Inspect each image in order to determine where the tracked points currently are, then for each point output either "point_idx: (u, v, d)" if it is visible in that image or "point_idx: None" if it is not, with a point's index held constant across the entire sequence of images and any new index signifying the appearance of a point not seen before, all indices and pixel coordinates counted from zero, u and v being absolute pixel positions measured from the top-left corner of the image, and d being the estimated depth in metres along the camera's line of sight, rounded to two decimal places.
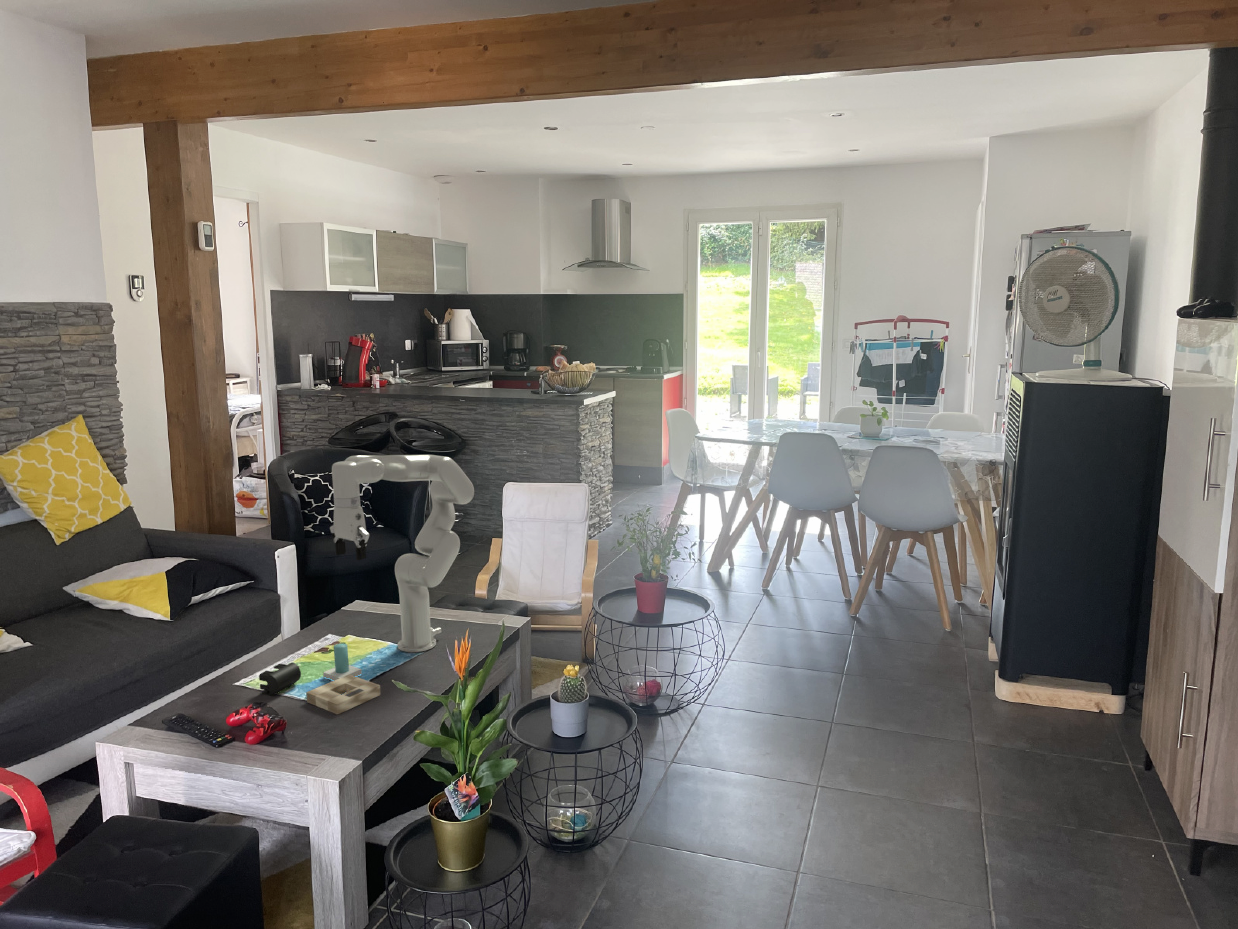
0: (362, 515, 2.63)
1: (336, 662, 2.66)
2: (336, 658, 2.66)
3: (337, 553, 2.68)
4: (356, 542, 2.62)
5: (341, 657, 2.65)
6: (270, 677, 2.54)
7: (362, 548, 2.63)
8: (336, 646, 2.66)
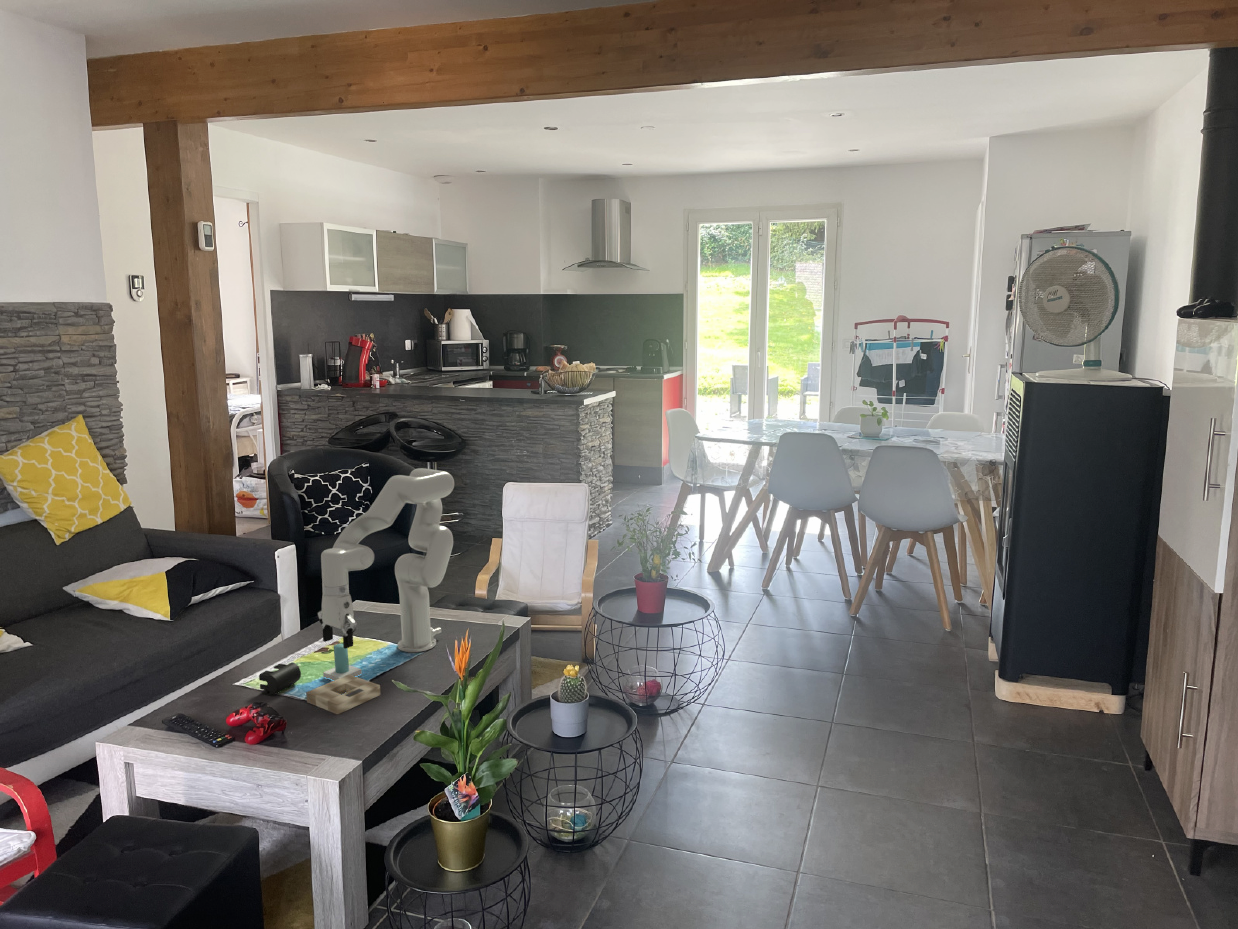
0: (350, 603, 2.63)
1: (336, 662, 2.66)
2: (336, 658, 2.66)
3: (324, 639, 2.67)
4: (343, 630, 2.61)
5: (341, 657, 2.65)
6: (270, 677, 2.54)
7: (349, 636, 2.62)
8: (336, 646, 2.66)
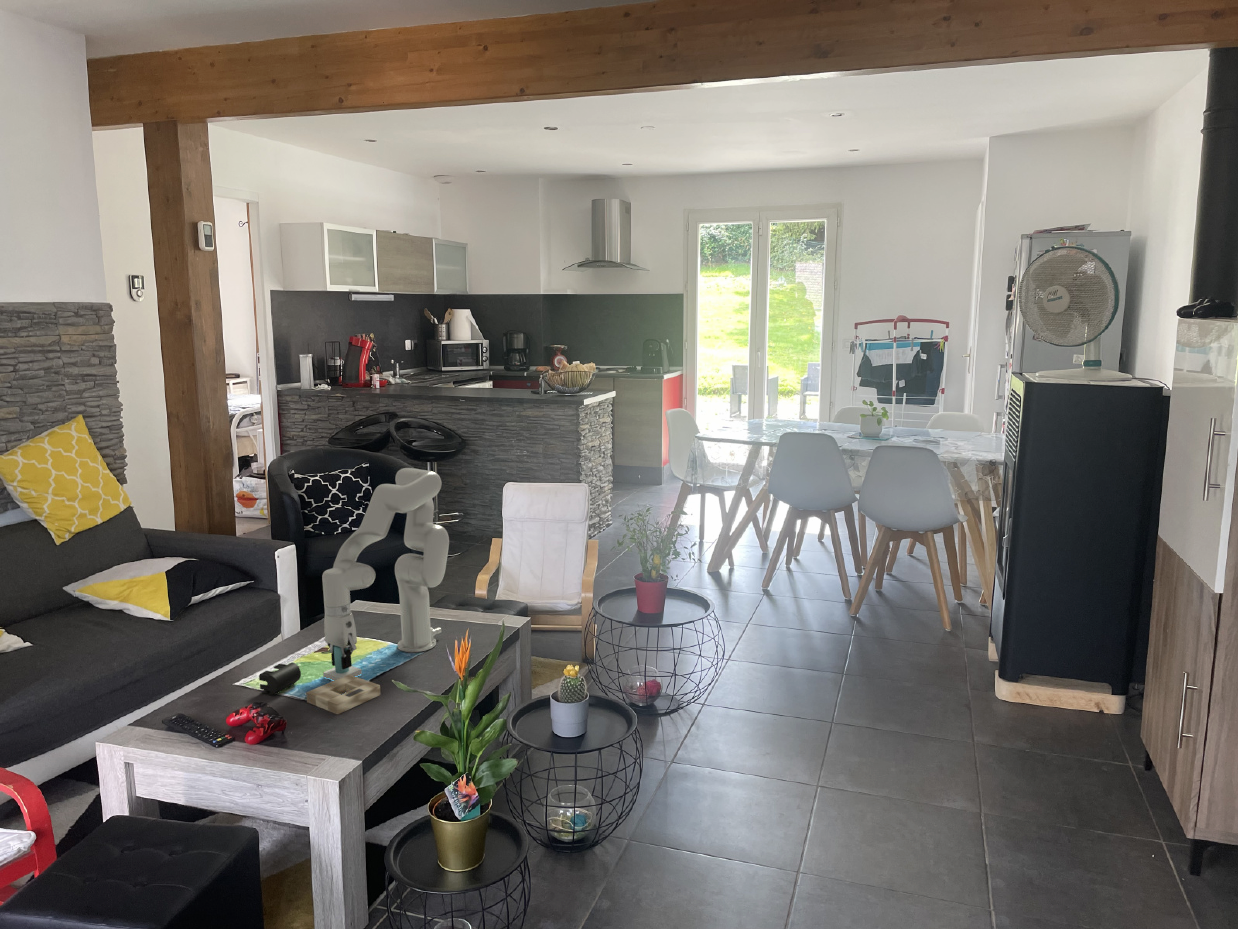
0: (352, 622, 2.64)
1: (336, 662, 2.66)
2: (336, 658, 2.66)
3: (333, 663, 2.68)
4: (343, 651, 2.64)
5: (341, 656, 2.65)
6: (270, 677, 2.54)
7: (347, 657, 2.65)
8: (336, 646, 2.66)
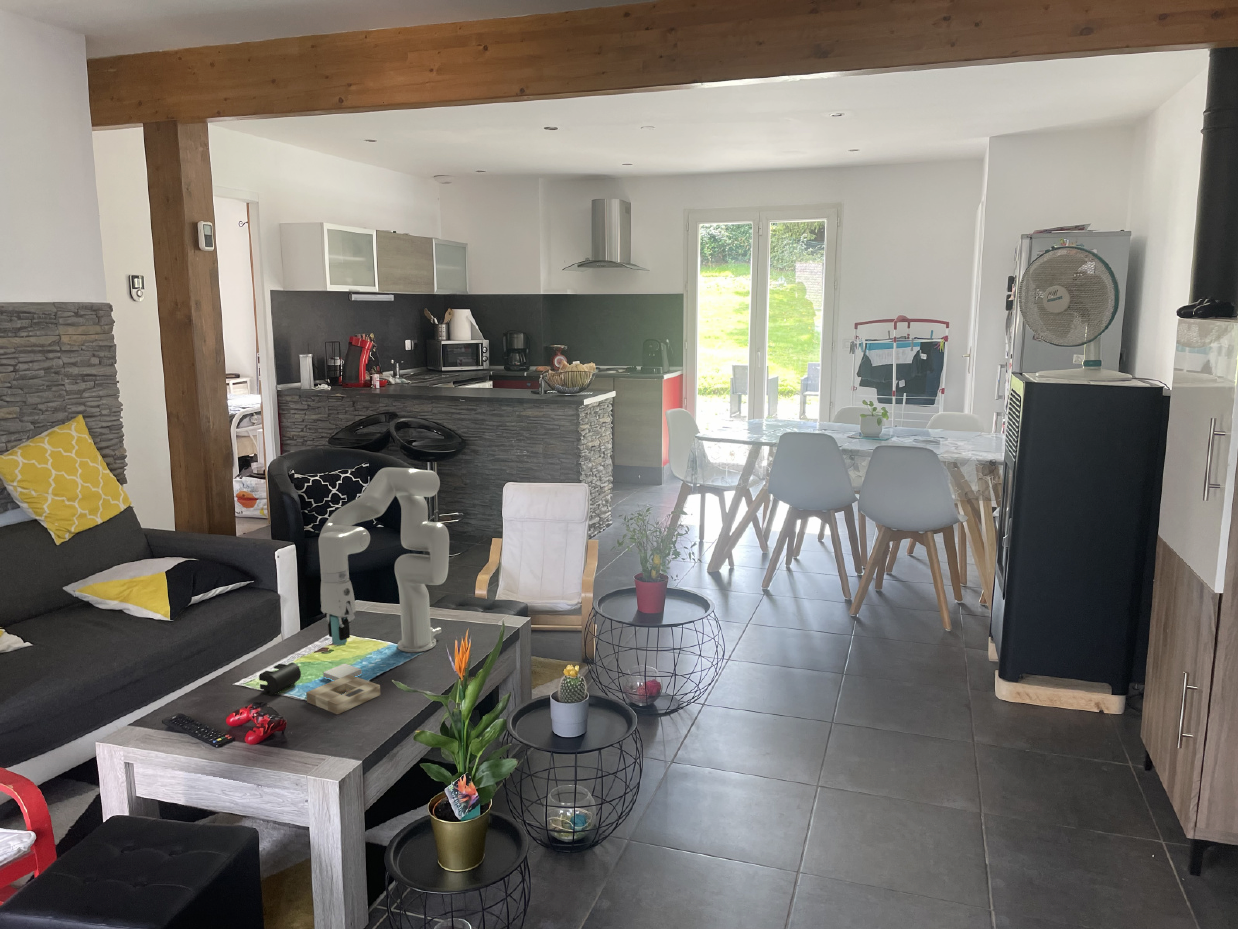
0: (351, 590, 2.46)
1: (333, 633, 2.48)
2: (333, 628, 2.48)
3: (330, 634, 2.50)
4: (340, 621, 2.46)
5: None
6: (270, 677, 2.54)
7: (345, 627, 2.48)
8: (333, 616, 2.49)
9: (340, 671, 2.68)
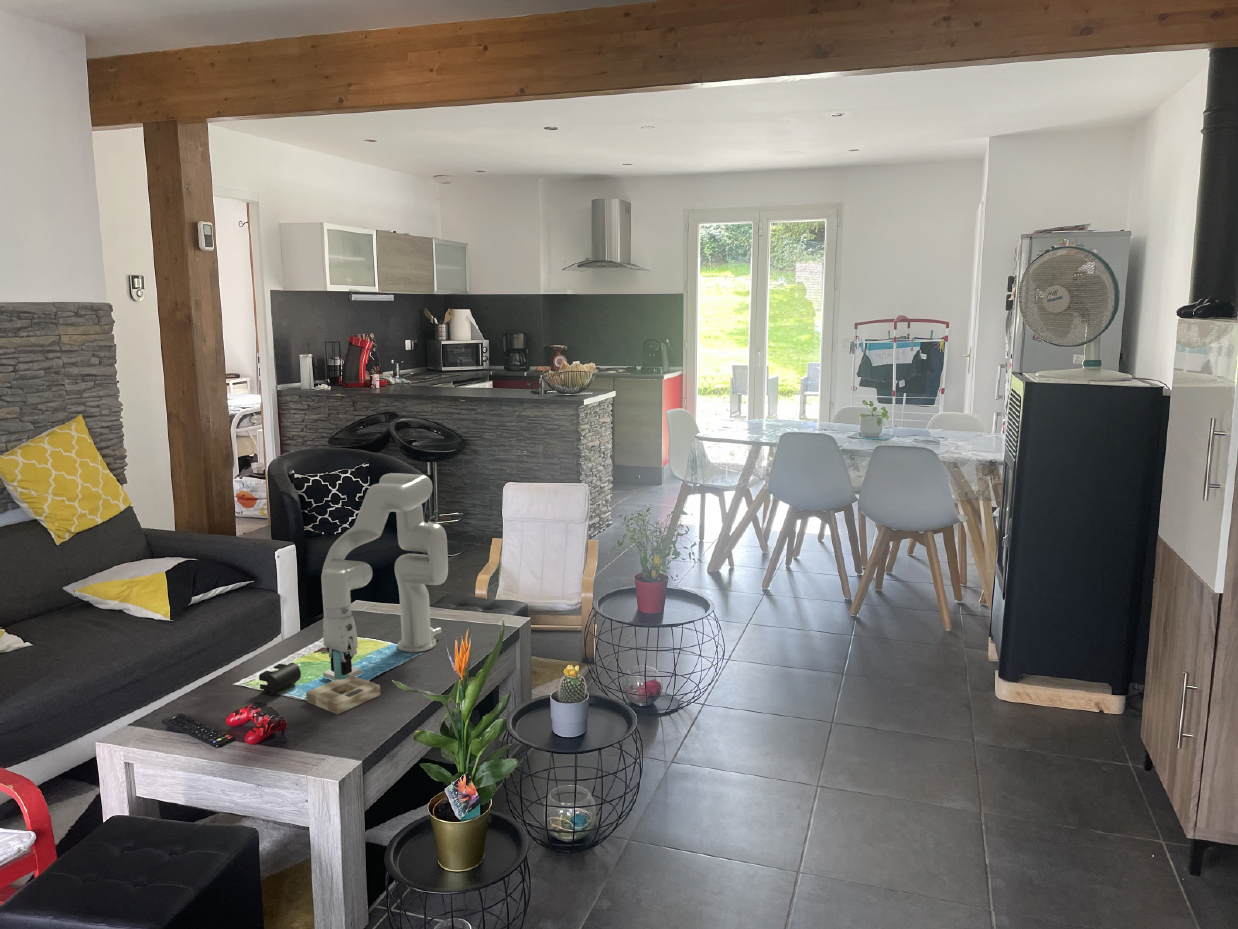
0: (353, 625, 2.48)
1: (335, 667, 2.50)
2: (335, 663, 2.50)
3: (332, 669, 2.52)
4: (342, 656, 2.48)
5: None
6: (270, 677, 2.54)
7: (348, 662, 2.49)
8: (335, 650, 2.50)
9: None
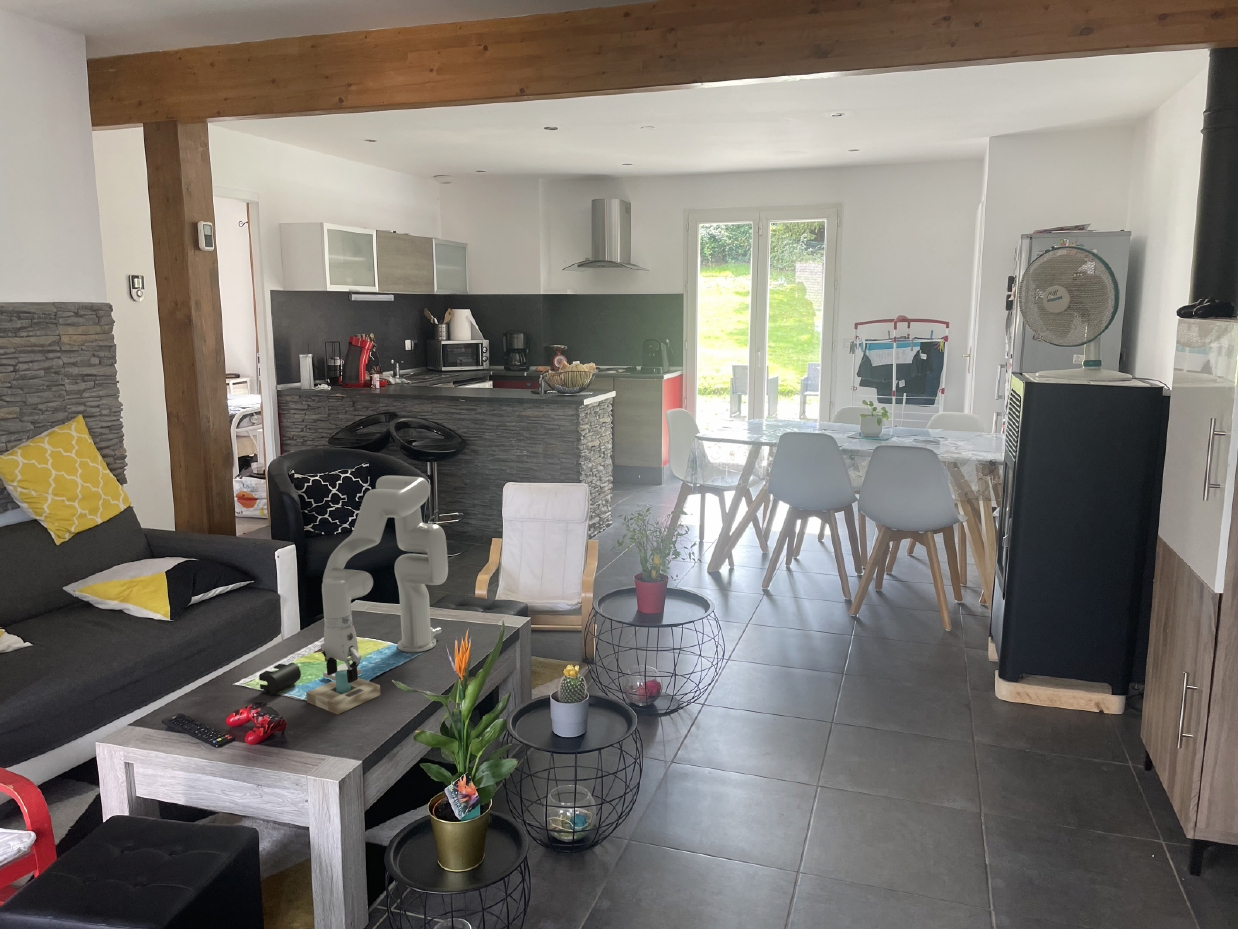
0: (354, 634, 2.49)
1: (338, 690, 2.51)
2: (338, 686, 2.51)
3: (328, 673, 2.54)
4: (347, 664, 2.48)
5: (343, 684, 2.51)
6: (270, 677, 2.54)
7: (353, 670, 2.48)
8: (338, 673, 2.52)
9: None
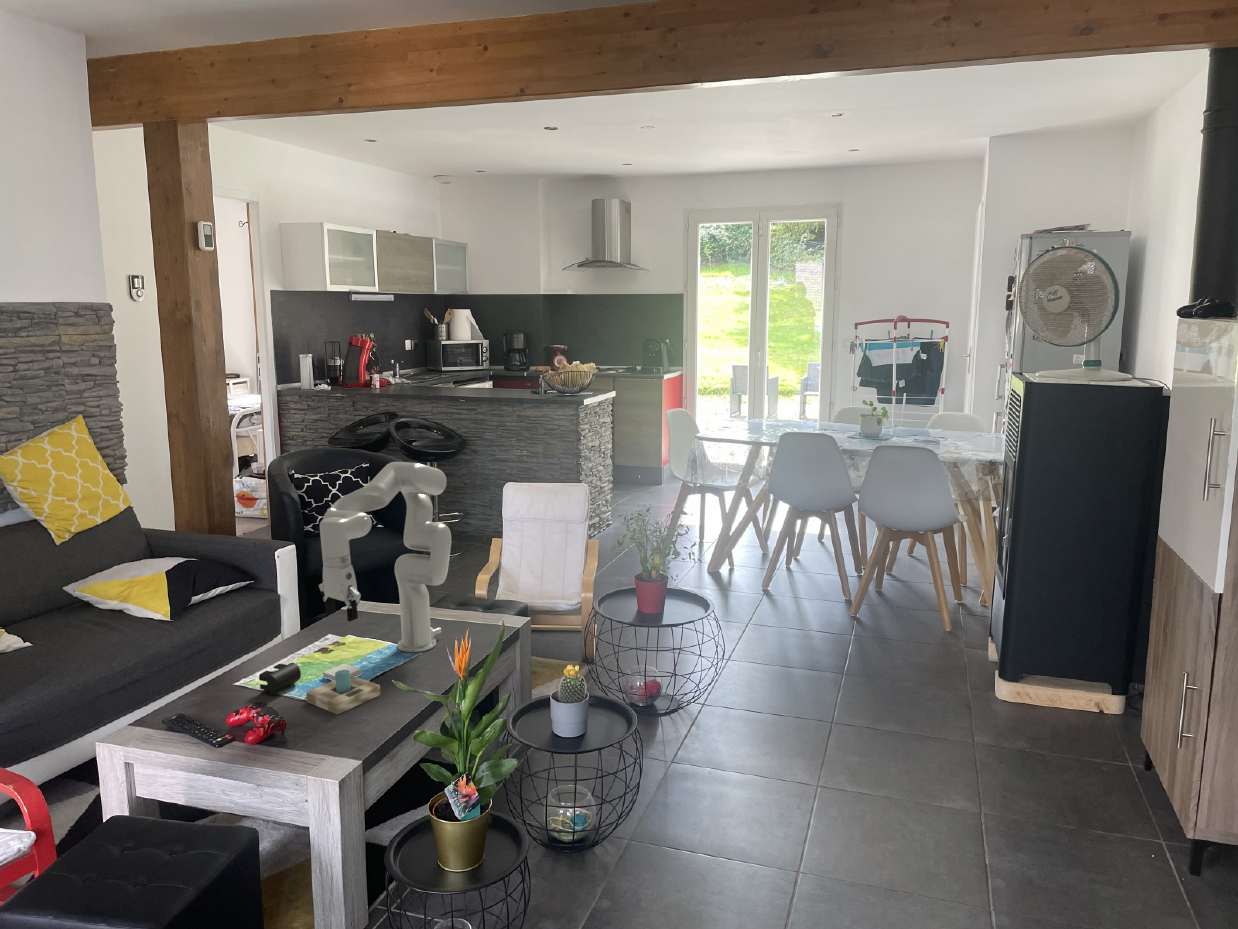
0: (353, 574, 2.50)
1: (338, 690, 2.51)
2: (338, 686, 2.51)
3: (327, 612, 2.55)
4: (347, 603, 2.49)
5: (343, 684, 2.51)
6: (270, 677, 2.54)
7: (353, 609, 2.50)
8: (338, 673, 2.52)
9: None
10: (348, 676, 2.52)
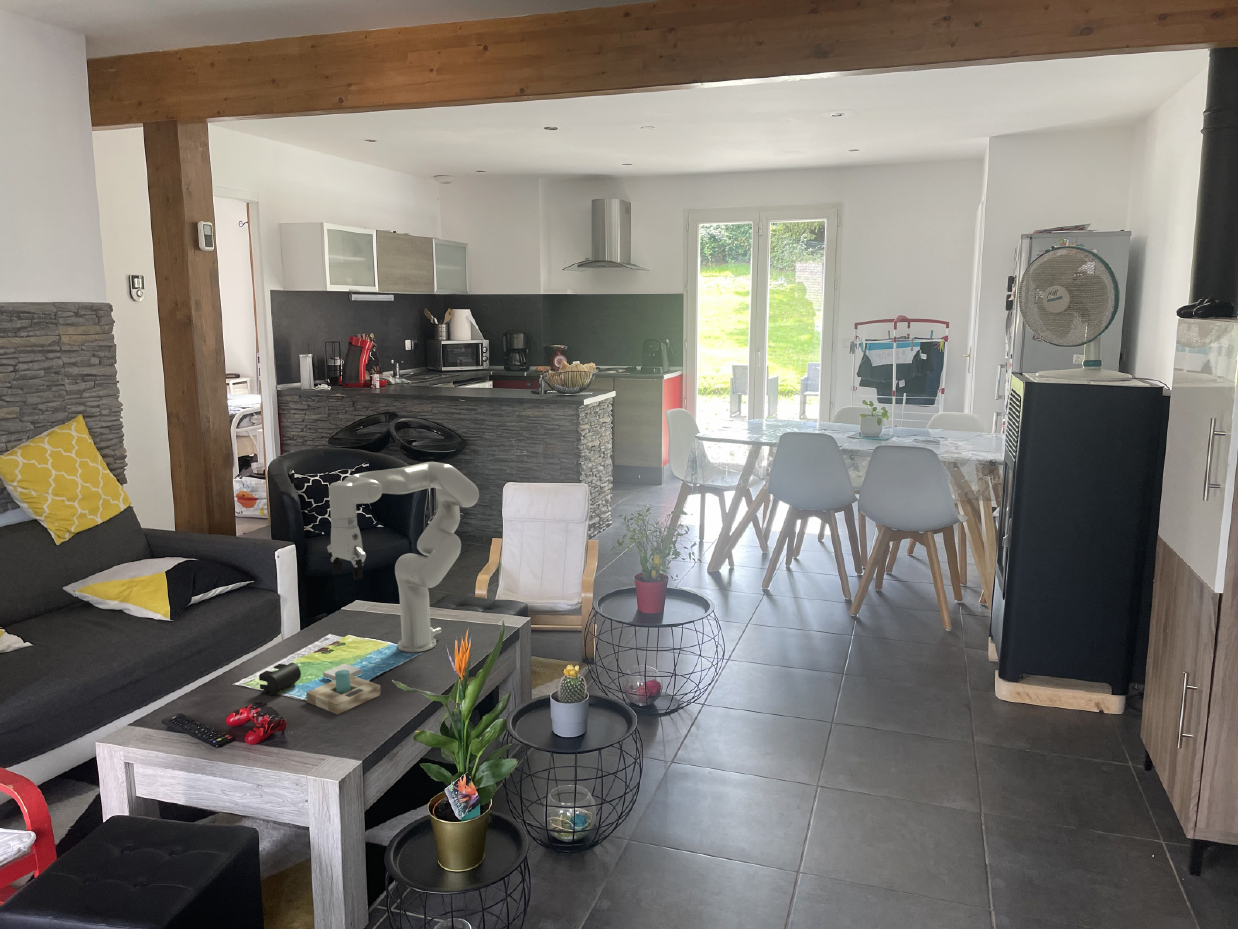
0: (359, 535, 2.65)
1: (338, 690, 2.51)
2: (338, 686, 2.51)
3: (334, 572, 2.70)
4: (353, 562, 2.64)
5: (343, 684, 2.51)
6: (270, 677, 2.54)
7: (359, 568, 2.65)
8: (338, 673, 2.52)
9: None
10: (348, 676, 2.52)
